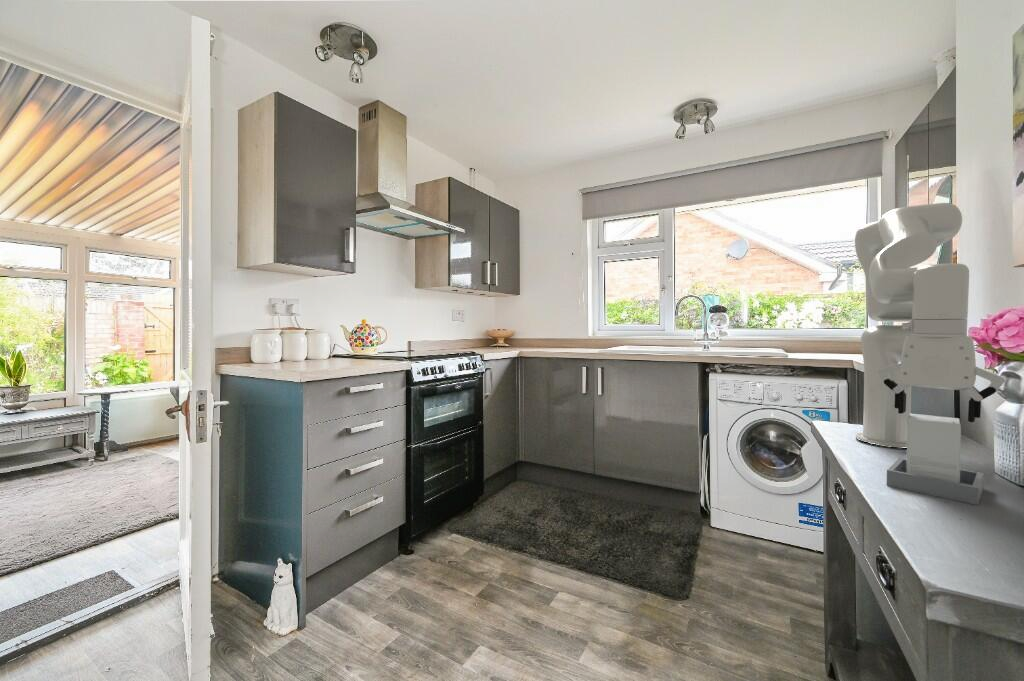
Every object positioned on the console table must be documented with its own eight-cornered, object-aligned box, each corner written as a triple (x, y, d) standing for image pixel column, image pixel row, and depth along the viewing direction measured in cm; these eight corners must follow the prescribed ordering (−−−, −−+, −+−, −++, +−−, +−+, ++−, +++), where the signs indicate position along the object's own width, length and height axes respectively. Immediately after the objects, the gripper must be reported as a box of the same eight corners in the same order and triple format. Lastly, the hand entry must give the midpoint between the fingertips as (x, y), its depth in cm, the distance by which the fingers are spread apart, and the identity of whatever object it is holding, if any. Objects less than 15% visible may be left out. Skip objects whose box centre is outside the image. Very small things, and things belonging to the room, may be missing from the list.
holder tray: (898, 472, 91) (899, 458, 91) (983, 488, 81) (983, 473, 81) (886, 485, 83) (886, 470, 83) (978, 505, 74) (978, 488, 74)
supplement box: (959, 482, 82) (961, 418, 82) (959, 492, 77) (961, 423, 77) (908, 473, 88) (909, 412, 87) (904, 481, 83) (906, 417, 82)
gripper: (875, 328, 86) (873, 412, 87) (1006, 329, 72) (1002, 428, 73) (883, 328, 90) (881, 407, 91) (1008, 328, 77) (1004, 421, 78)
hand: (935, 416), depth 82 cm, fingers open, 9 cm apart
